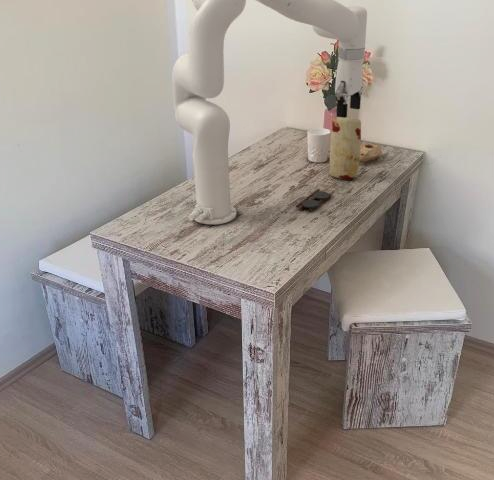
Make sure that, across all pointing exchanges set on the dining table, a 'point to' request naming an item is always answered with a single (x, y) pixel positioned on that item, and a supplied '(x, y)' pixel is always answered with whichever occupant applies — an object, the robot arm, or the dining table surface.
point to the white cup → (318, 144)
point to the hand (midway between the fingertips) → (348, 112)
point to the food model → (345, 147)
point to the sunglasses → (313, 200)
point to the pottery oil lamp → (369, 152)
